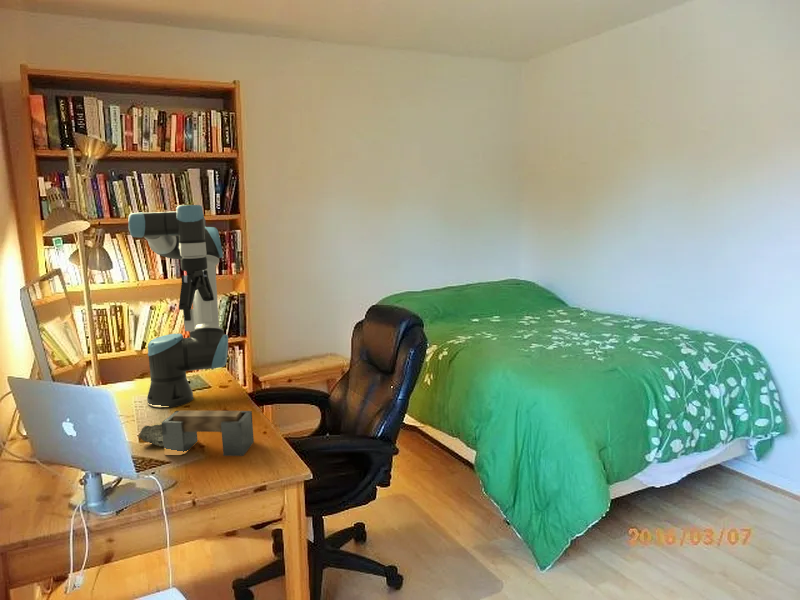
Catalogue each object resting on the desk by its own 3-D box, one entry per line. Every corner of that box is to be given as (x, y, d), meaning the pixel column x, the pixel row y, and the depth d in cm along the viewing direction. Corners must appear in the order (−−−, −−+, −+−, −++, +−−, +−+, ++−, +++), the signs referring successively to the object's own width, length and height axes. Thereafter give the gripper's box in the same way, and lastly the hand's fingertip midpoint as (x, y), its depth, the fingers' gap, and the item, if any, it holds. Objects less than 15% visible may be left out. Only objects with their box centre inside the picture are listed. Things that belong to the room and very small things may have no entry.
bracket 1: (179, 441, 178) (176, 410, 177) (197, 441, 178) (195, 410, 176) (164, 455, 169) (161, 422, 167) (184, 455, 169) (181, 422, 167)
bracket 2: (235, 442, 177) (232, 410, 175) (253, 442, 176) (251, 411, 175) (223, 455, 168) (220, 423, 166) (243, 455, 167) (240, 423, 166)
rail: (174, 431, 170) (172, 416, 169) (181, 425, 174) (179, 410, 174) (237, 431, 169) (235, 416, 168) (242, 425, 173) (241, 410, 172)
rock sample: (159, 440, 170) (151, 414, 174) (141, 456, 171) (134, 429, 176) (188, 443, 178) (180, 418, 183) (171, 458, 180) (163, 433, 184)
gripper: (198, 253, 194) (203, 317, 198) (162, 261, 170) (169, 335, 174) (220, 252, 194) (225, 317, 198) (188, 261, 169) (194, 335, 173)
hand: (199, 326), depth 186 cm, fingers open, 13 cm apart
